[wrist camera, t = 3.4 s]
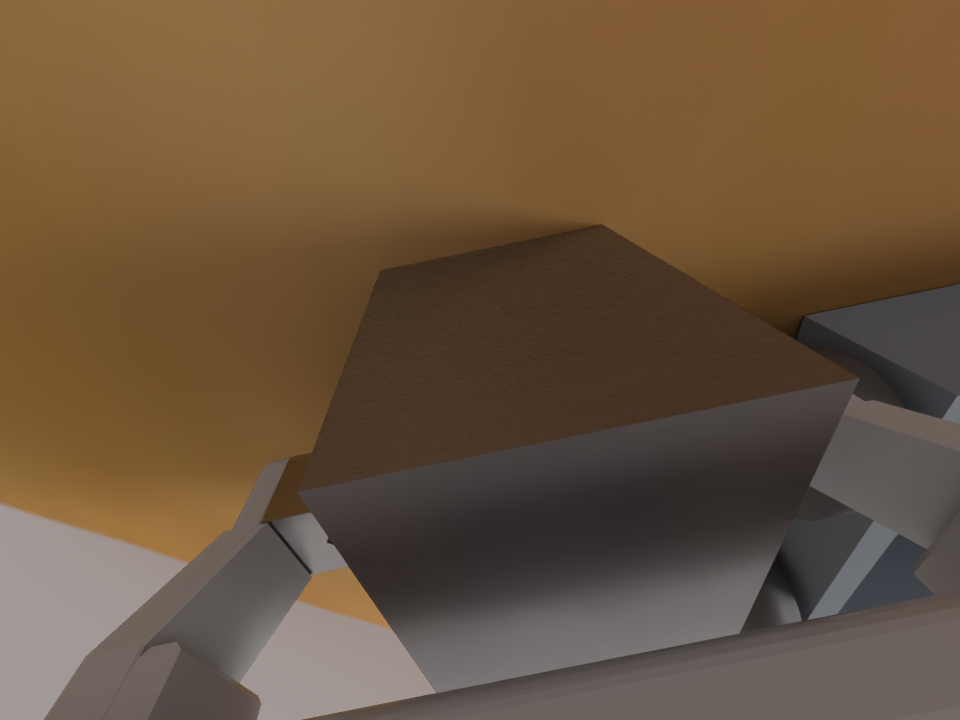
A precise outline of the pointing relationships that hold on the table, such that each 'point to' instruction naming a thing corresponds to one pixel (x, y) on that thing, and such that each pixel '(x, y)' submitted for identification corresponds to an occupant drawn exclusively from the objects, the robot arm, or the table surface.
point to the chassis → (829, 523)
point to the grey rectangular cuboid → (564, 455)
